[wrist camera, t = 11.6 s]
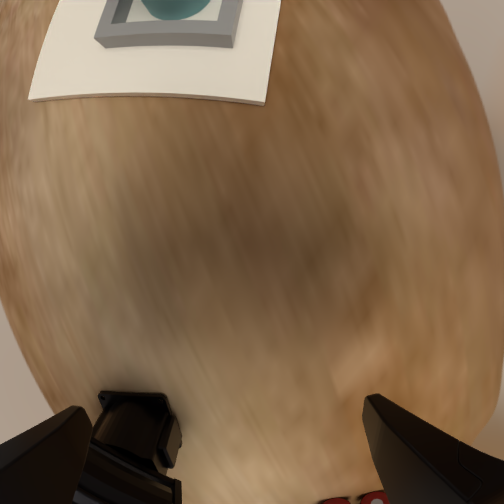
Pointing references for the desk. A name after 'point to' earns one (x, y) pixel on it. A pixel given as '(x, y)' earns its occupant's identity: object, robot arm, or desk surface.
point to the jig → (157, 52)
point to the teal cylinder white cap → (174, 8)
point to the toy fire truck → (364, 499)
